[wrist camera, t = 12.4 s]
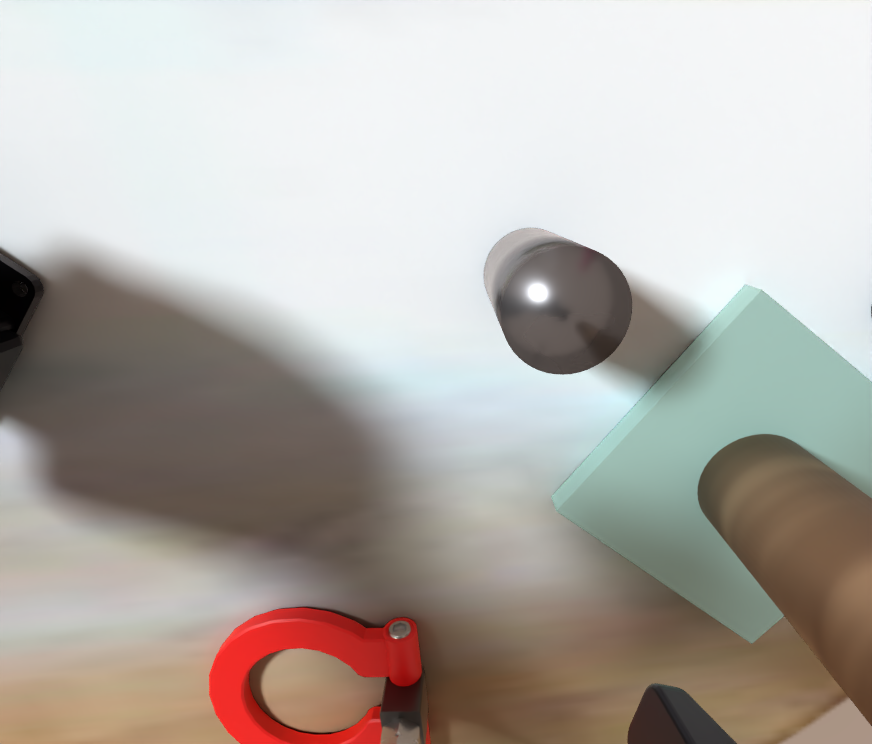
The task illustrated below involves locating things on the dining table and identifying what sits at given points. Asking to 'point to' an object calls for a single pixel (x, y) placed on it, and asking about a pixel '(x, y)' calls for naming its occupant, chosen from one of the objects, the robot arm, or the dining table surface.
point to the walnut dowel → (801, 547)
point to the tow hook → (338, 636)
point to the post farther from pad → (557, 300)
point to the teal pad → (706, 435)
